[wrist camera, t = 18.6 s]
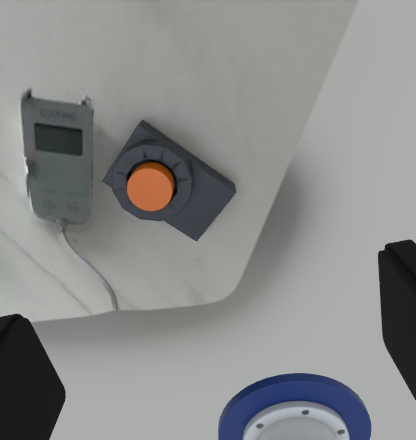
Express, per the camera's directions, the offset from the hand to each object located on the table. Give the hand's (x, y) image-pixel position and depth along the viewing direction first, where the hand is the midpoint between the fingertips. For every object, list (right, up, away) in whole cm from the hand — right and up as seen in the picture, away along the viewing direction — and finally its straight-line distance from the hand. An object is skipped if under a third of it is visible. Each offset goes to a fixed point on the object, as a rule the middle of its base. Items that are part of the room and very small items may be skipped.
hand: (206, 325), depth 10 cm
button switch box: (-3, +7, +26) cm, 27 cm away
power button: (-5, +6, +22) cm, 23 cm away
